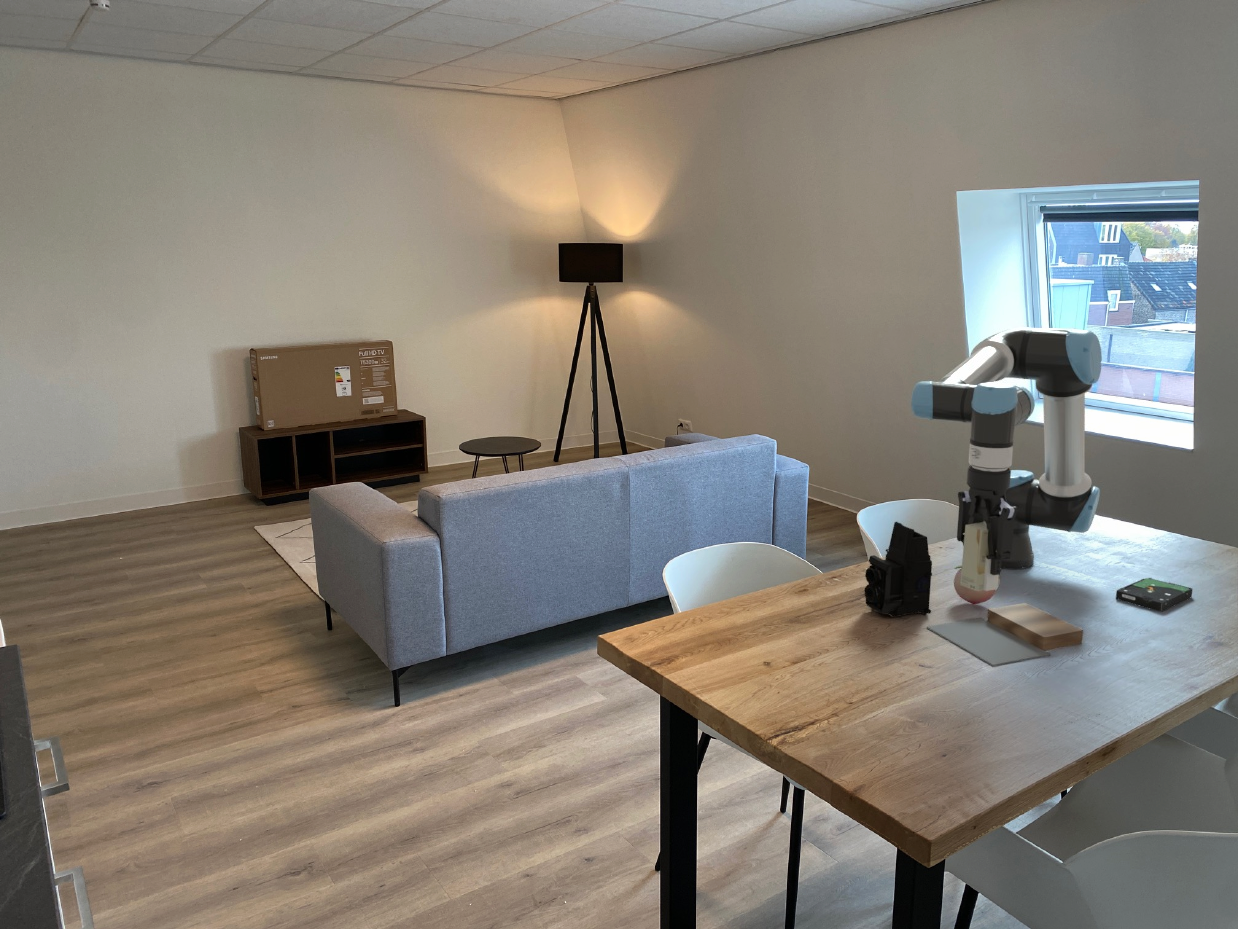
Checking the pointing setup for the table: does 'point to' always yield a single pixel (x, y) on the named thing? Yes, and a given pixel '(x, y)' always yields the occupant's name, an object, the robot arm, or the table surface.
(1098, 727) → the table surface
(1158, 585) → the disk drive
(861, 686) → the table surface
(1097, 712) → the table surface
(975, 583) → the skincare box
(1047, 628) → the walnut ledge
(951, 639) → the rubber mat
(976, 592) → the decorative fruit
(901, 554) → the camera
